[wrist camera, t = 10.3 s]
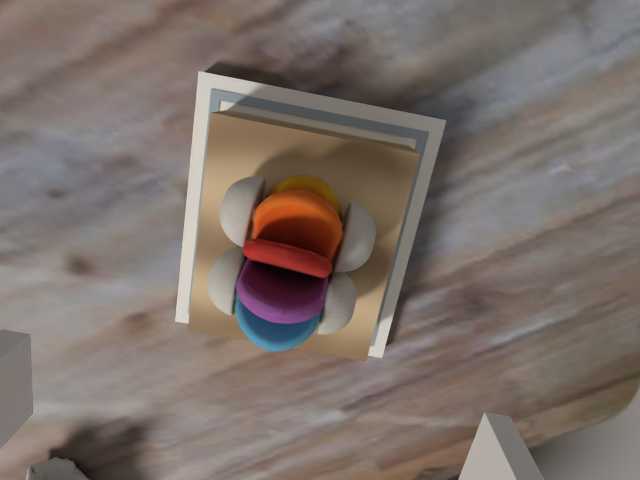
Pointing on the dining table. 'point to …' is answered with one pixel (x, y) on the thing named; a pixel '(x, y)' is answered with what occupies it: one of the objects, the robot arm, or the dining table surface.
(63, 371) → the dining table surface
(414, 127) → the build board
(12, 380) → the robot arm
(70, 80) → the dining table surface
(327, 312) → the rainbow fan toy
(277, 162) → the oak plinth
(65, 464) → the white crumpled lump
